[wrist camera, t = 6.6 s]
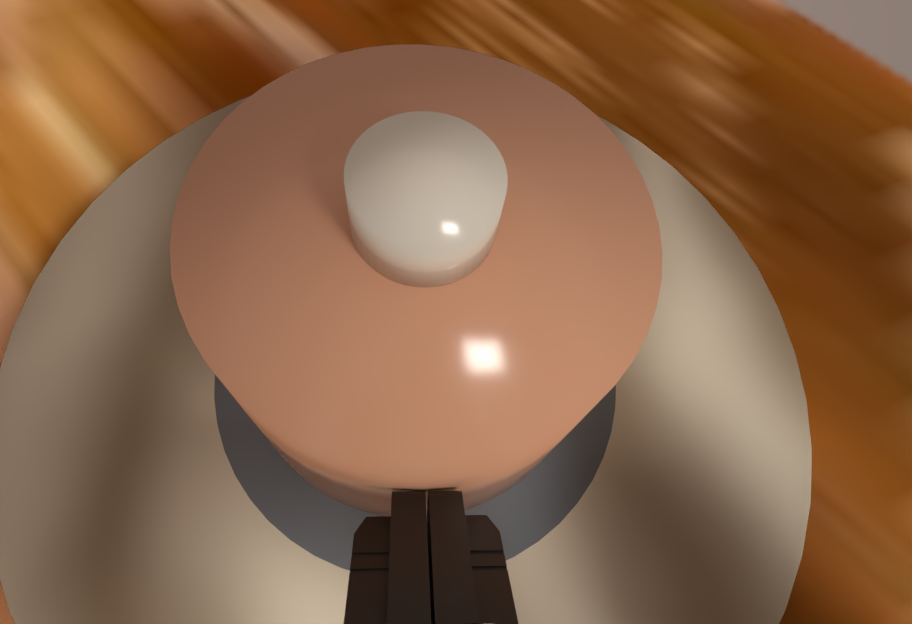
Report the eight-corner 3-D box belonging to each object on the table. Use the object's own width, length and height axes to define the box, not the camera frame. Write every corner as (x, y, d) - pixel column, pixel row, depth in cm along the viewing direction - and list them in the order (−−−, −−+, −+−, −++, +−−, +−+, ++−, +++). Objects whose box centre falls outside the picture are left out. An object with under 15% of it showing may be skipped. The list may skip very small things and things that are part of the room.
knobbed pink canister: (539, 197, 22) (613, -26, 14) (614, 487, 18) (776, 398, 10) (242, 224, 21) (148, -4, 13) (253, 546, 17) (125, 495, 9)
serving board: (648, 71, 27) (661, 43, 26) (921, 719, 18) (965, 729, 16) (42, 128, 23) (20, 98, 22) (-28, 983, 14) (-74, 1024, 13)
